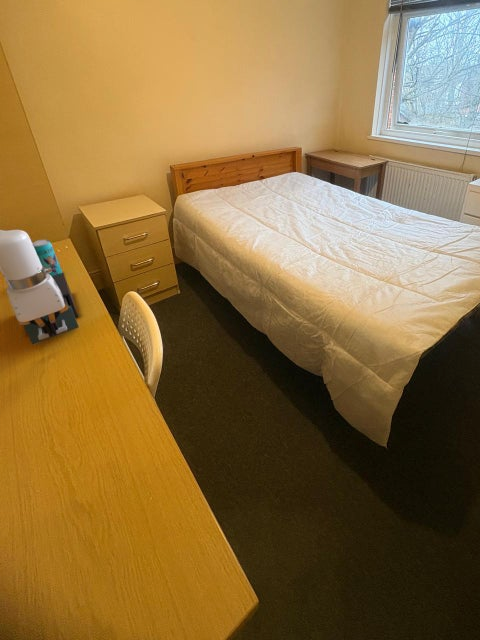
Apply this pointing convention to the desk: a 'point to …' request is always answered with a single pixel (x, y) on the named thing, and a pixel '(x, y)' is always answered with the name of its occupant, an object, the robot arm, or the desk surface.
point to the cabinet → (65, 290)
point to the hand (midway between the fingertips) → (53, 333)
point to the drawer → (64, 323)
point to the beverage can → (47, 256)
